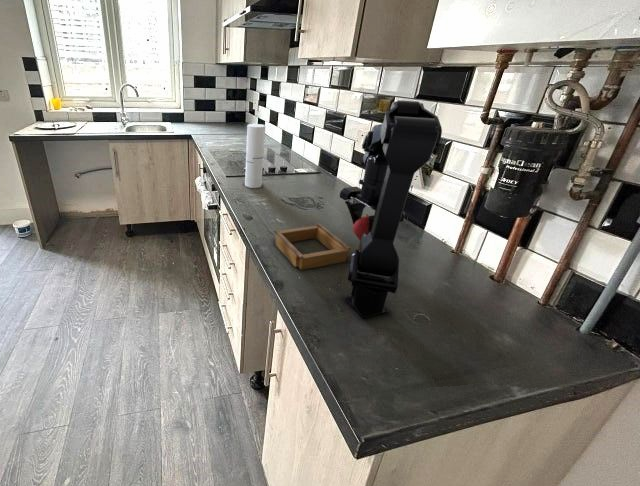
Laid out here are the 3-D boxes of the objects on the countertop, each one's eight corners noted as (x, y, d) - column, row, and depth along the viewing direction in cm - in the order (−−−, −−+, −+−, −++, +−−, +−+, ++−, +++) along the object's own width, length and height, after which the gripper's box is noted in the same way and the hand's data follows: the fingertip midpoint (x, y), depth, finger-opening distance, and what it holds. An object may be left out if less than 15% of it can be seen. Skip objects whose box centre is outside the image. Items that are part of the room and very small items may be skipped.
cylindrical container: (261, 188, 135) (265, 127, 124) (244, 187, 135) (247, 126, 124) (261, 182, 141) (264, 124, 130) (245, 182, 141) (247, 123, 130)
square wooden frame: (348, 261, 86) (351, 247, 84) (298, 270, 81) (300, 256, 80) (317, 235, 99) (319, 223, 97) (273, 241, 94) (274, 229, 92)
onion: (374, 239, 91) (380, 213, 87) (370, 247, 86) (377, 221, 83) (353, 233, 93) (358, 208, 90) (348, 241, 89) (353, 215, 85)
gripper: (430, 187, 76) (412, 244, 83) (375, 165, 92) (365, 215, 99) (393, 191, 73) (378, 250, 80) (343, 168, 89) (334, 219, 95)
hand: (363, 232), depth 88 cm, fingers closed on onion, 6 cm apart
